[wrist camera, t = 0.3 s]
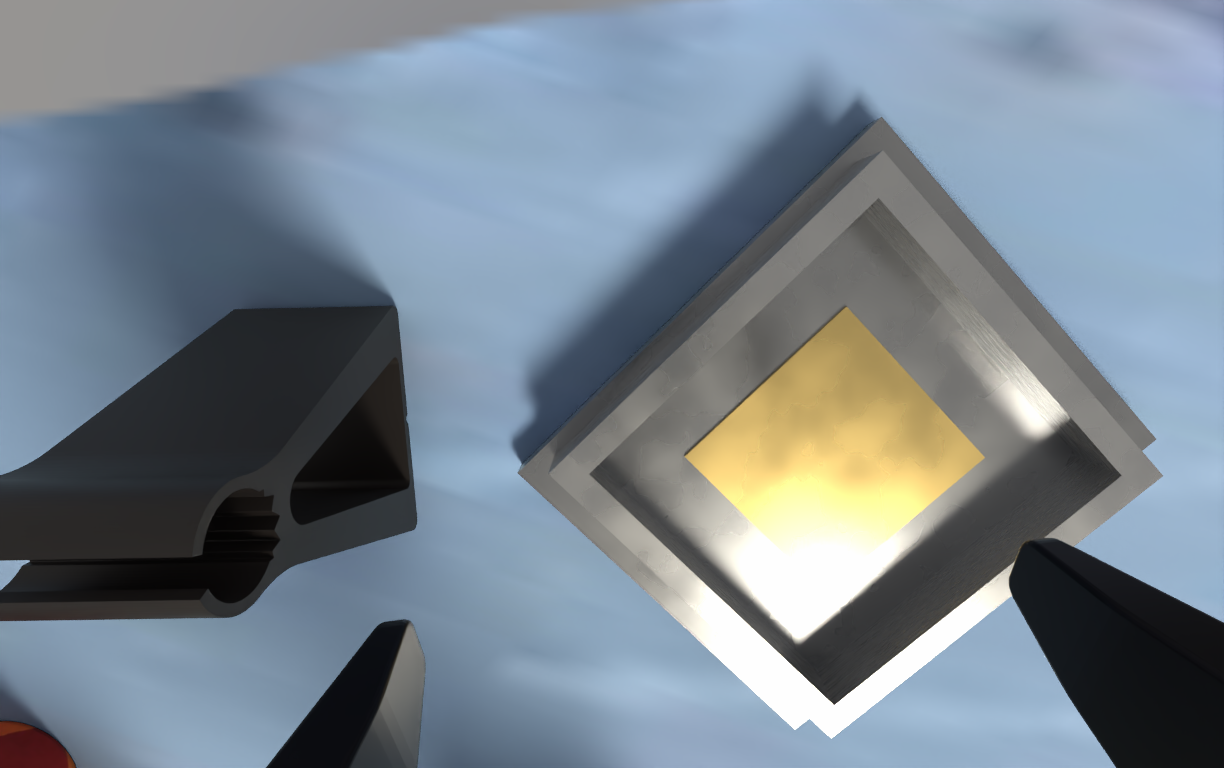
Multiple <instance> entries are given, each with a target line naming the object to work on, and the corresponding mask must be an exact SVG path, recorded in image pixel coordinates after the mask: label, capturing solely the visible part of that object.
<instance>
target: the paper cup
mask: <svg viewBox="0 0 1224 768" xmlns="http://www.w3.org/2000/svg"><path fill="white" fill-rule="evenodd" d="M0 768H76V767H75V764H74V762H73V760H72V758H71V756H70V755H69V753H68V752H67V751H66V750H65V748H64V747H63V746H62V745H61V744H60V743H59V742H58V741H57V740H55V739H54V738H53V737H51V736H50V735H49V734H47V733H45V732H44V731H42V730H40V729H38V728H35V727H33V726H30V725H27V724H24V723H19V722H13V721H0Z"/></svg>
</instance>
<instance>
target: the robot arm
mask: <svg viewBox="0 0 1224 768" xmlns="http://www.w3.org/2000/svg"><path fill="white" fill-rule="evenodd" d="M1009 589H1010V592H1011V594H1012V596H1013V598H1014V600H1015V602H1016V604H1017V606H1018V607H1019V609H1020V611H1021V613H1022V615H1023V616H1024V618H1025V620H1026V622H1027V624H1028V625H1029V627H1030V629H1031V631H1032V633H1033V634H1034V636H1035V638H1036V640H1037V642H1038V644H1039V645H1040V647H1041V649H1042V651H1043V653H1044V654H1045V656H1046V658H1047V660H1048V662H1049V663H1050V665H1051V667H1052V669H1053V671H1054V672H1055V674H1056V676H1057V678H1058V680H1059V681H1060V683H1061V685H1062V686H1063V688H1064V690H1065V691H1066V693H1067V695H1068V696H1069V698H1070V699H1071V701H1072V703H1073V704H1074V706H1075V707H1076V709H1077V710H1078V712H1079V713H1080V715H1081V716H1082V718H1083V719H1084V721H1085V722H1086V724H1087V725H1088V727H1089V728H1090V730H1091V731H1092V733H1093V734H1094V736H1095V737H1096V738H1097V740H1098V741H1099V743H1100V744H1101V746H1102V747H1103V749H1104V750H1105V752H1106V753H1107V755H1108V756H1109V758H1110V759H1111V761H1112V762H1113V764H1114V765H1115V767H1116V768H1224V623H1223V622H1221V621H1219V620H1217V619H1216V618H1214V617H1212V616H1210V615H1208V614H1206V613H1204V612H1202V611H1200V610H1198V609H1196V608H1194V607H1192V606H1190V605H1188V604H1186V603H1184V602H1182V601H1180V600H1178V599H1176V598H1174V597H1172V596H1170V595H1168V594H1166V593H1164V592H1162V591H1160V590H1158V589H1156V588H1154V587H1152V586H1150V585H1148V584H1146V583H1144V582H1142V581H1140V580H1138V579H1136V578H1134V577H1132V576H1130V575H1128V574H1126V573H1124V572H1122V571H1120V570H1118V569H1116V568H1114V567H1113V566H1111V565H1109V564H1107V563H1105V562H1103V561H1101V560H1099V559H1097V558H1095V557H1093V556H1091V555H1089V554H1087V553H1085V552H1083V551H1081V550H1079V549H1077V548H1075V547H1073V546H1071V545H1069V544H1067V543H1065V542H1063V541H1061V540H1058V539H1055V538H1042V539H1034V540H1028V541H1025V542H1024V543H1023V544H1022V545H1021V547H1020V549H1019V552H1018V554H1017V557H1016V560H1015V562H1014V565H1013V568H1012V570H1011V573H1010V576H1009ZM424 682H425V657H424V653H423V651H422V648H421V645H420V642H419V640H418V637H417V634H416V632H415V629H414V626H413V624H412V622H411V621H409V620H406V619H404V620H396V621H388V622H383V623H381V624H379V625H378V626H377V627H376V628H375V629H374V631H373V632H372V633H371V634H370V636H369V637H368V638H367V639H366V641H365V642H364V643H363V645H362V646H361V647H360V648H359V650H358V651H357V652H356V654H355V655H354V656H353V657H352V659H351V660H350V661H349V662H348V664H347V665H346V666H345V668H344V669H343V670H342V671H341V673H340V674H339V675H338V676H337V678H336V679H335V680H334V682H333V683H332V684H331V685H330V687H329V688H328V689H327V691H326V692H325V693H324V694H323V696H322V697H321V698H320V699H319V701H318V702H317V703H316V705H315V706H314V707H313V708H312V710H311V711H310V712H309V713H308V715H307V716H306V717H305V719H304V720H303V721H302V722H301V724H300V725H299V726H298V728H297V729H296V730H295V731H294V733H293V734H292V735H291V736H290V738H289V739H288V740H287V742H286V743H285V744H284V745H283V747H282V748H281V749H280V750H279V752H278V753H277V754H276V756H275V757H274V758H273V759H272V761H271V762H270V763H269V765H268V766H267V767H266V768H417V765H418V753H419V741H420V729H421V717H422V706H423V694H424Z"/></svg>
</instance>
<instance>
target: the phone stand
mask: <svg viewBox="0 0 1224 768" xmlns="http://www.w3.org/2000/svg"><path fill="white" fill-rule="evenodd" d="M406 416H407V406H406V395H405V385H404V374H403V363H402V353H401V342H400V332H399V321H398V312H397V309H396V307H395V306H366V307H319V308H272V309H235V310H233V311H232V312H230V313H229V314H228V315H226V316H225V317H224V318H222V319H221V320H220V321H218V322H217V323H216V324H215V325H213V326H212V327H211V328H209V329H208V330H207V331H205V332H204V333H203V334H201V335H200V336H199V337H197V338H196V339H195V340H193V341H192V342H191V343H190V344H188V345H187V346H186V347H184V348H183V349H182V350H180V351H179V352H178V353H176V354H175V355H174V356H172V357H171V358H170V359H168V360H167V361H166V362H165V363H163V364H162V365H161V366H159V367H158V368H157V369H155V370H154V371H153V372H151V373H150V374H149V375H147V376H146V377H145V378H144V379H142V380H141V381H140V382H138V383H137V384H136V385H134V386H133V387H132V388H130V389H129V390H128V391H126V392H125V393H124V394H122V395H121V396H120V397H119V398H117V399H116V400H115V401H113V402H112V403H111V404H109V405H108V406H107V407H105V408H104V409H103V410H101V411H100V412H99V413H97V414H96V415H95V416H94V417H92V418H91V419H90V420H88V421H87V422H86V423H84V424H83V425H82V426H80V427H79V428H78V429H76V430H75V431H74V432H72V433H71V434H70V435H69V436H67V437H66V438H65V439H63V440H62V441H61V442H59V443H58V444H57V445H55V446H54V447H53V448H51V449H50V450H49V451H48V452H46V453H45V454H43V455H42V456H41V457H39V458H37V459H36V460H34V461H33V462H31V463H29V464H27V465H25V466H23V467H21V468H19V469H17V470H14V471H12V472H9V473H6V474H3V475H0V560H30V562H29V563H27V564H25V565H23V566H22V567H21V569H20V570H19V572H18V573H17V574H16V576H15V577H14V578H13V579H12V580H11V581H10V582H9V583H8V584H7V585H6V586H5V587H4V588H3V589H2V590H0V621H38V620H104V619H171V618H229V617H234V616H237V615H239V614H241V613H243V612H244V611H246V610H247V609H248V608H249V607H251V606H252V605H253V604H254V603H255V602H256V600H257V599H258V598H259V597H260V595H261V594H262V593H263V592H264V590H265V589H266V588H267V587H268V586H269V585H270V584H271V583H272V582H273V581H274V580H275V579H276V578H277V577H278V576H279V575H280V574H282V573H283V572H284V571H286V570H287V569H289V568H291V567H292V566H295V565H297V564H300V563H303V562H307V561H310V560H314V559H317V558H320V557H324V556H327V555H331V554H334V553H337V552H341V551H344V550H347V549H351V548H354V547H358V546H361V545H364V544H368V543H371V542H375V541H378V540H381V539H385V538H388V537H392V536H395V535H398V534H402V533H405V532H408V531H412V530H414V529H415V528H416V524H417V512H416V501H415V490H414V480H413V469H412V459H411V448H410V437H409V427H408V424H407V423H406Z"/></svg>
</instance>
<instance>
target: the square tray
mask: <svg viewBox="0 0 1224 768" xmlns="http://www.w3.org/2000/svg"><path fill="white" fill-rule="evenodd" d="M1155 440H1156V438H1155V437H1154V436H1153V435H1152V434H1151V432H1150V431H1149V430H1148V429H1147V428H1146V427H1145V425H1144V424H1143V423H1142V422H1141V421H1140V420H1139V418H1138V417H1137V416H1136V415H1135V414H1134V412H1133V411H1132V410H1131V409H1130V408H1129V407H1128V405H1127V404H1126V403H1125V402H1124V401H1123V400H1122V398H1121V397H1120V396H1119V395H1118V394H1117V393H1116V391H1115V390H1114V389H1113V388H1112V387H1111V385H1110V384H1109V383H1108V382H1107V381H1106V380H1105V378H1104V377H1103V376H1102V375H1101V374H1100V373H1099V371H1098V370H1097V369H1096V368H1095V367H1094V366H1093V364H1092V363H1091V362H1090V361H1089V360H1088V358H1087V357H1086V356H1085V355H1084V354H1083V353H1082V351H1081V350H1080V349H1079V348H1078V347H1077V346H1076V344H1075V343H1074V342H1073V341H1072V340H1071V339H1070V337H1069V336H1068V335H1067V334H1066V333H1065V331H1064V330H1063V329H1062V328H1061V327H1060V326H1059V324H1058V323H1057V322H1056V321H1055V320H1054V319H1053V317H1052V316H1051V315H1050V314H1049V313H1048V312H1047V310H1046V309H1045V308H1044V307H1043V306H1042V304H1041V303H1040V302H1039V301H1038V300H1037V299H1036V297H1035V296H1034V295H1033V294H1032V293H1031V292H1030V290H1029V289H1028V288H1027V287H1026V286H1025V285H1024V283H1023V282H1022V281H1021V280H1020V279H1019V277H1018V276H1017V275H1016V274H1015V273H1014V272H1013V270H1012V269H1011V268H1010V267H1009V266H1008V265H1007V263H1006V262H1005V261H1004V260H1003V259H1002V258H1001V256H1000V255H999V254H998V253H997V252H996V250H995V249H994V248H993V247H992V246H991V245H990V243H989V242H988V241H987V240H986V239H985V238H984V236H983V235H982V234H981V233H980V232H979V231H978V229H977V228H976V227H975V226H974V225H973V224H972V222H971V221H970V220H969V219H968V218H967V216H966V215H965V214H964V213H963V212H962V211H961V209H960V208H959V207H958V206H957V205H956V204H955V202H954V201H953V200H952V199H951V198H950V197H949V195H948V194H947V193H946V192H945V191H944V189H943V188H942V187H941V186H940V185H939V184H938V182H937V181H936V180H935V179H934V178H933V177H932V175H931V174H930V173H929V172H928V171H927V170H926V168H925V167H924V166H923V165H922V164H921V162H920V161H919V160H918V159H917V158H916V157H915V155H914V154H913V153H912V152H911V151H910V150H909V148H908V147H907V146H906V145H905V144H904V143H903V141H902V140H901V139H900V138H899V137H898V135H897V134H896V133H895V132H894V131H893V130H892V128H891V127H890V126H889V125H888V124H887V123H886V121H885V120H884V119H883V118H882V117H881V118H879V119H877V120H875V121H873V122H872V123H870V124H869V125H867V126H866V127H865V128H864V129H863V130H862V131H861V132H860V133H859V134H858V135H857V136H856V137H855V138H854V139H853V140H852V141H851V142H850V143H849V144H848V145H847V146H846V147H845V148H844V149H843V150H842V151H841V152H840V153H839V154H838V155H837V156H836V157H835V158H834V159H833V160H832V161H831V162H830V163H829V164H828V165H827V166H826V167H825V168H824V169H823V170H822V171H821V172H820V173H819V174H817V175H816V176H815V177H814V178H813V179H812V180H811V181H810V182H809V183H808V184H807V185H806V186H805V187H804V188H803V189H802V190H801V191H800V192H799V193H798V194H797V195H796V196H795V197H794V198H793V199H792V200H791V201H790V202H789V203H788V204H787V205H786V206H785V207H784V208H783V209H782V210H781V211H780V212H779V213H778V214H777V215H776V216H775V217H774V218H773V219H772V220H771V221H770V222H769V223H767V224H766V225H765V226H764V227H763V228H762V229H761V230H760V231H759V232H758V233H757V234H756V235H755V236H754V237H753V238H752V239H751V240H750V241H749V242H748V243H747V244H746V245H745V246H744V247H743V248H742V249H741V250H740V251H739V252H738V253H737V254H736V255H735V256H734V257H733V258H732V259H731V260H730V261H729V262H728V263H727V264H726V265H725V266H724V267H723V268H722V269H721V270H720V271H719V272H717V273H716V274H715V275H714V276H713V277H712V278H711V279H710V280H709V281H708V282H707V283H706V284H705V285H704V286H703V287H702V288H701V289H700V290H699V291H698V292H697V293H696V294H695V295H694V296H693V297H692V298H691V299H690V300H689V301H688V302H687V303H686V304H685V305H684V306H683V307H682V308H681V309H680V310H679V311H678V312H677V313H676V314H675V315H674V316H673V317H672V318H671V319H670V320H669V321H667V322H666V323H665V324H664V325H663V326H662V327H661V328H660V329H659V330H658V331H657V332H656V333H655V334H654V335H653V336H652V337H651V338H650V339H649V340H648V341H647V342H646V343H645V344H644V345H643V346H642V347H641V348H640V349H639V350H638V351H637V352H636V353H635V354H634V355H633V356H632V357H631V358H630V359H629V360H628V361H627V362H626V363H625V364H624V365H623V366H622V367H621V368H620V369H618V370H617V371H616V372H615V373H614V374H613V375H612V376H611V377H610V378H609V379H608V380H607V381H606V382H605V383H604V384H603V385H602V386H601V387H600V388H599V389H598V390H597V391H596V392H595V393H594V394H593V395H592V396H591V397H590V398H589V399H588V400H587V401H586V402H585V403H584V404H583V405H582V406H581V407H580V408H579V409H578V410H577V411H576V412H575V413H574V414H573V415H572V416H571V417H570V418H568V419H567V420H566V421H565V422H564V423H563V424H562V425H561V426H560V427H559V428H558V429H557V430H556V431H555V432H554V433H553V434H552V435H551V436H550V437H549V438H548V439H547V440H546V441H545V442H544V443H543V444H542V445H541V446H540V447H539V448H538V449H537V450H536V451H535V452H534V453H533V454H532V455H531V456H530V457H529V458H528V459H527V460H526V461H525V462H524V463H523V464H522V465H521V467H520V469H519V471H518V474H519V475H520V476H521V477H522V478H524V479H525V480H526V481H527V482H528V483H529V484H530V485H531V486H532V487H533V488H534V489H535V490H537V491H538V492H539V493H540V494H541V495H542V496H543V497H544V498H545V499H546V500H547V501H548V502H550V503H551V504H552V505H553V506H554V507H555V508H556V509H557V510H558V511H559V512H560V513H561V514H562V515H564V516H565V517H566V518H567V519H568V520H569V521H570V522H571V523H572V524H573V525H574V526H575V527H577V528H578V529H579V530H580V531H581V532H582V533H583V534H584V535H585V536H586V537H587V538H588V539H590V540H591V541H592V542H593V543H594V544H595V545H596V546H597V547H598V548H599V549H600V550H601V551H603V552H604V553H605V554H606V555H607V556H608V557H609V558H610V559H611V560H612V561H613V562H614V563H616V564H617V565H618V566H619V567H620V568H621V569H622V570H623V571H624V572H625V573H626V574H627V575H629V576H630V577H631V578H632V579H633V580H634V581H635V582H636V583H637V584H638V585H639V586H640V587H642V588H643V589H644V590H645V591H646V592H647V593H648V594H649V595H650V596H651V597H652V598H653V599H654V600H656V601H657V602H658V603H659V604H660V605H661V606H662V607H663V608H664V609H665V610H666V611H667V612H669V613H670V614H671V615H672V616H673V617H674V618H675V619H676V620H677V621H678V622H679V623H680V624H682V625H683V626H684V627H685V628H686V629H687V630H688V631H689V632H690V633H691V634H692V635H693V636H695V637H696V638H697V639H698V640H699V641H700V642H701V643H702V644H703V645H704V646H705V647H706V648H708V649H709V650H710V651H711V652H712V653H713V654H714V655H715V656H716V657H717V658H718V659H719V660H721V661H722V662H723V663H724V664H725V665H726V666H727V667H728V668H729V669H730V670H731V671H732V672H733V673H735V674H736V675H737V676H738V677H739V678H740V679H741V680H742V681H743V682H744V683H745V684H746V685H748V686H749V687H750V688H751V689H752V690H753V691H754V692H755V693H756V694H757V695H758V696H759V697H761V698H762V699H763V700H764V701H765V702H766V703H767V704H768V705H769V706H770V707H771V708H772V709H774V710H775V711H776V712H777V713H778V714H779V715H780V716H781V717H782V718H783V719H784V720H785V721H787V722H788V723H789V724H790V725H791V726H792V727H793V728H794V729H796V728H797V727H799V726H800V725H801V724H802V723H804V722H805V721H806V720H807V719H809V718H810V719H811V720H813V721H814V722H815V723H816V724H817V725H818V726H819V727H820V728H821V729H822V730H823V731H824V732H825V733H826V734H828V735H829V736H830V737H831V738H832V737H833V736H835V735H836V734H837V733H838V732H840V731H841V730H842V729H844V728H845V727H846V726H847V725H849V724H850V723H851V722H852V721H854V720H855V719H856V718H857V717H859V716H860V715H861V714H863V713H864V712H865V711H866V710H868V709H869V708H870V707H871V706H873V705H874V704H875V703H876V702H878V701H879V700H880V699H881V698H883V697H884V696H885V695H887V694H888V693H889V692H890V691H892V690H893V689H894V688H895V687H897V686H898V685H899V684H900V683H902V682H903V681H904V680H906V679H907V678H908V677H909V676H911V675H912V674H913V673H914V672H916V671H917V670H918V669H919V668H921V667H922V666H923V665H924V664H926V663H927V662H928V661H930V660H931V659H932V658H933V657H935V656H936V655H937V654H938V653H940V652H941V651H942V650H943V649H945V648H946V647H947V646H949V645H950V644H951V643H952V642H954V641H955V640H956V639H957V638H959V637H960V636H961V635H962V634H964V633H965V632H966V631H968V630H969V629H970V628H971V627H973V626H974V625H975V624H976V623H978V622H979V621H980V620H981V619H983V618H984V617H985V616H986V615H988V614H989V613H990V612H992V611H993V610H994V609H995V608H997V607H998V606H999V605H1000V604H1002V603H1003V602H1004V601H1005V600H1007V599H1008V598H1009V597H1011V596H1012V594H1011V592H1010V589H1009V576H1010V573H1011V570H1012V568H1013V565H1014V562H1015V560H1016V557H1017V554H1018V552H1019V549H1020V547H1021V545H1022V544H1023V543H1024V542H1025V541H1028V540H1034V539H1042V538H1055V539H1058V540H1061V541H1063V542H1065V543H1067V544H1069V545H1071V546H1073V547H1074V546H1075V545H1076V544H1078V543H1079V542H1080V541H1081V540H1083V539H1084V538H1085V537H1086V536H1088V535H1089V534H1090V533H1091V532H1093V531H1094V530H1095V529H1097V528H1098V527H1099V526H1100V525H1102V524H1103V523H1104V522H1105V521H1107V520H1108V519H1109V518H1110V517H1112V516H1113V515H1114V514H1116V513H1117V512H1118V511H1119V510H1121V509H1122V508H1123V507H1124V506H1126V505H1127V504H1128V503H1129V502H1131V501H1132V500H1133V499H1134V498H1136V497H1137V496H1138V495H1140V494H1141V493H1142V492H1143V491H1145V490H1146V489H1147V488H1148V487H1150V486H1151V485H1152V484H1153V483H1155V482H1156V481H1157V480H1159V479H1160V478H1161V477H1162V476H1163V475H1162V474H1161V473H1160V472H1159V471H1158V469H1157V468H1156V467H1155V466H1154V465H1153V464H1152V462H1151V461H1150V460H1149V459H1148V458H1147V457H1146V455H1145V454H1144V453H1143V452H1142V450H1144V449H1145V448H1146V447H1147V446H1149V445H1150V444H1151V443H1152V442H1154V441H1155Z"/></svg>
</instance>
